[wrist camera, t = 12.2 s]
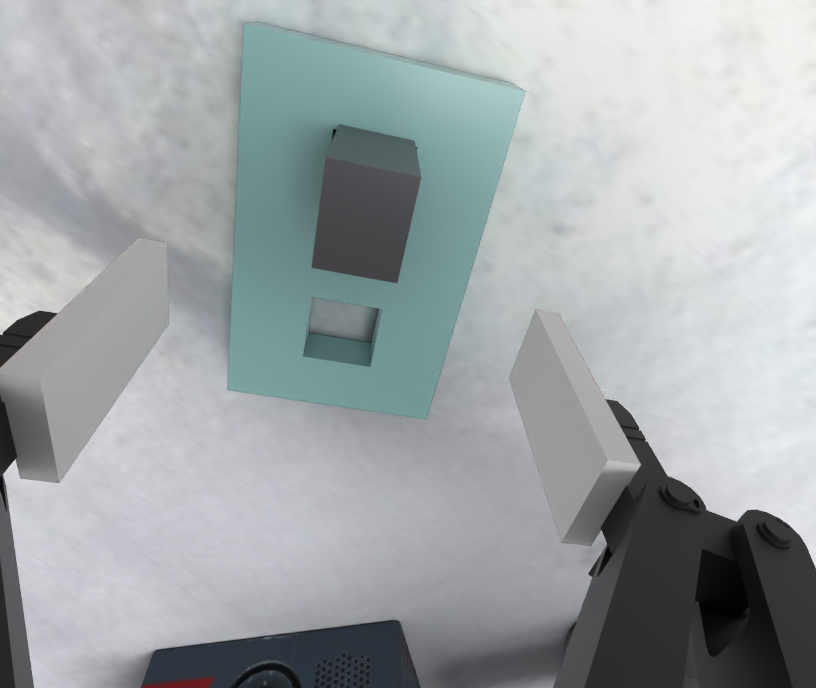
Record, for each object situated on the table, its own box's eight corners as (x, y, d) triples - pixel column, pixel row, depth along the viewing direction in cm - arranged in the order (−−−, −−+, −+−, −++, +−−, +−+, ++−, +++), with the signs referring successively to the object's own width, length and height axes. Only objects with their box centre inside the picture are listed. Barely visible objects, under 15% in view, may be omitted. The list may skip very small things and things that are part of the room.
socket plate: (424, 393, 41) (426, 419, 39) (237, 365, 39) (227, 390, 37) (513, 84, 30) (525, 91, 27) (256, 21, 28) (243, 24, 25)
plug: (395, 213, 33) (397, 283, 25) (331, 200, 33) (311, 267, 24) (412, 130, 31) (421, 177, 22) (343, 114, 30) (325, 157, 22)
